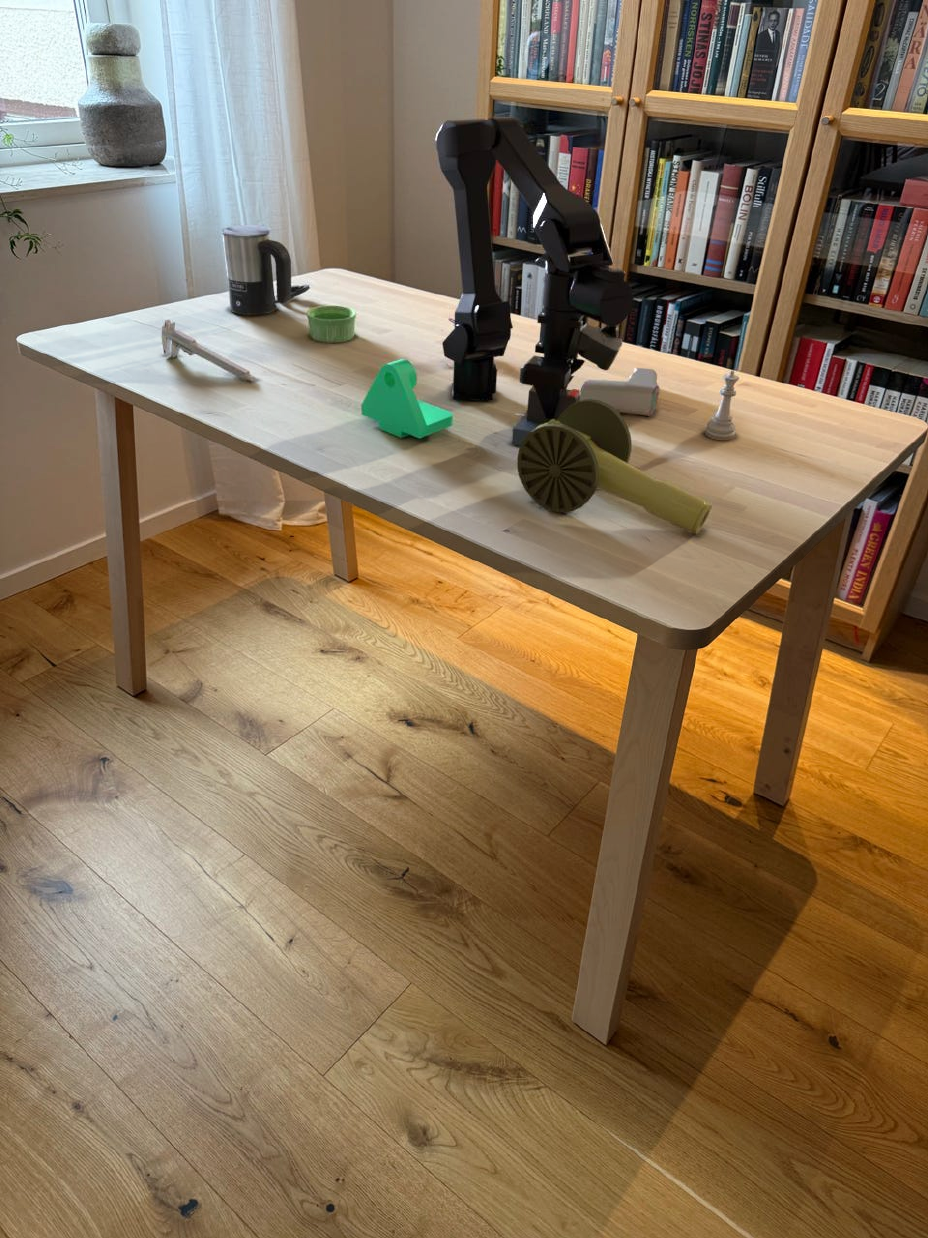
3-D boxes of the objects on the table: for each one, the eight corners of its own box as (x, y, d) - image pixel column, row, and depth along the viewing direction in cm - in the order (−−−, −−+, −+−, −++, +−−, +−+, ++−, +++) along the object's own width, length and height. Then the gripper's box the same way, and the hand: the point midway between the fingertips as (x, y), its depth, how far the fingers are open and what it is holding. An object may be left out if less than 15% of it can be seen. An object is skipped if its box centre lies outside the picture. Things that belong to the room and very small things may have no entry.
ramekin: (330, 325, 179) (329, 302, 177) (366, 335, 175) (366, 311, 172) (297, 336, 173) (296, 312, 170) (334, 347, 169) (333, 322, 166)
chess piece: (698, 431, 144) (710, 366, 138) (722, 427, 145) (735, 364, 139) (715, 442, 140) (729, 376, 135) (739, 438, 142) (754, 373, 136)
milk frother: (221, 313, 182) (212, 232, 174) (249, 291, 195) (243, 215, 187) (292, 320, 181) (287, 238, 173) (316, 297, 194) (312, 221, 185)
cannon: (719, 516, 121) (737, 433, 114) (686, 554, 112) (703, 467, 106) (545, 466, 131) (553, 387, 124) (503, 498, 122) (509, 415, 116)
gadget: (526, 420, 138) (528, 389, 135) (531, 413, 140) (534, 382, 137) (572, 428, 136) (576, 396, 133) (577, 420, 138) (581, 389, 136)
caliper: (163, 355, 162) (158, 319, 158) (168, 354, 163) (163, 317, 159) (251, 382, 153) (248, 344, 149) (256, 380, 154) (253, 342, 150)
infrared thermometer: (657, 391, 159) (655, 419, 146) (585, 383, 161) (577, 410, 148) (661, 364, 157) (659, 390, 144) (588, 356, 159) (580, 381, 146)
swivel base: (503, 444, 136) (504, 427, 135) (524, 417, 145) (525, 400, 144) (592, 460, 133) (594, 442, 132) (607, 431, 142) (610, 414, 141)
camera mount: (455, 430, 140) (457, 363, 134) (419, 445, 135) (420, 375, 129) (397, 408, 146) (397, 342, 140) (361, 421, 141) (360, 353, 136)
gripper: (607, 333, 119) (593, 447, 128) (634, 296, 134) (619, 401, 143) (522, 321, 122) (514, 434, 131) (558, 286, 137) (548, 390, 146)
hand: (552, 414), depth 137 cm, fingers closed on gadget, 3 cm apart
